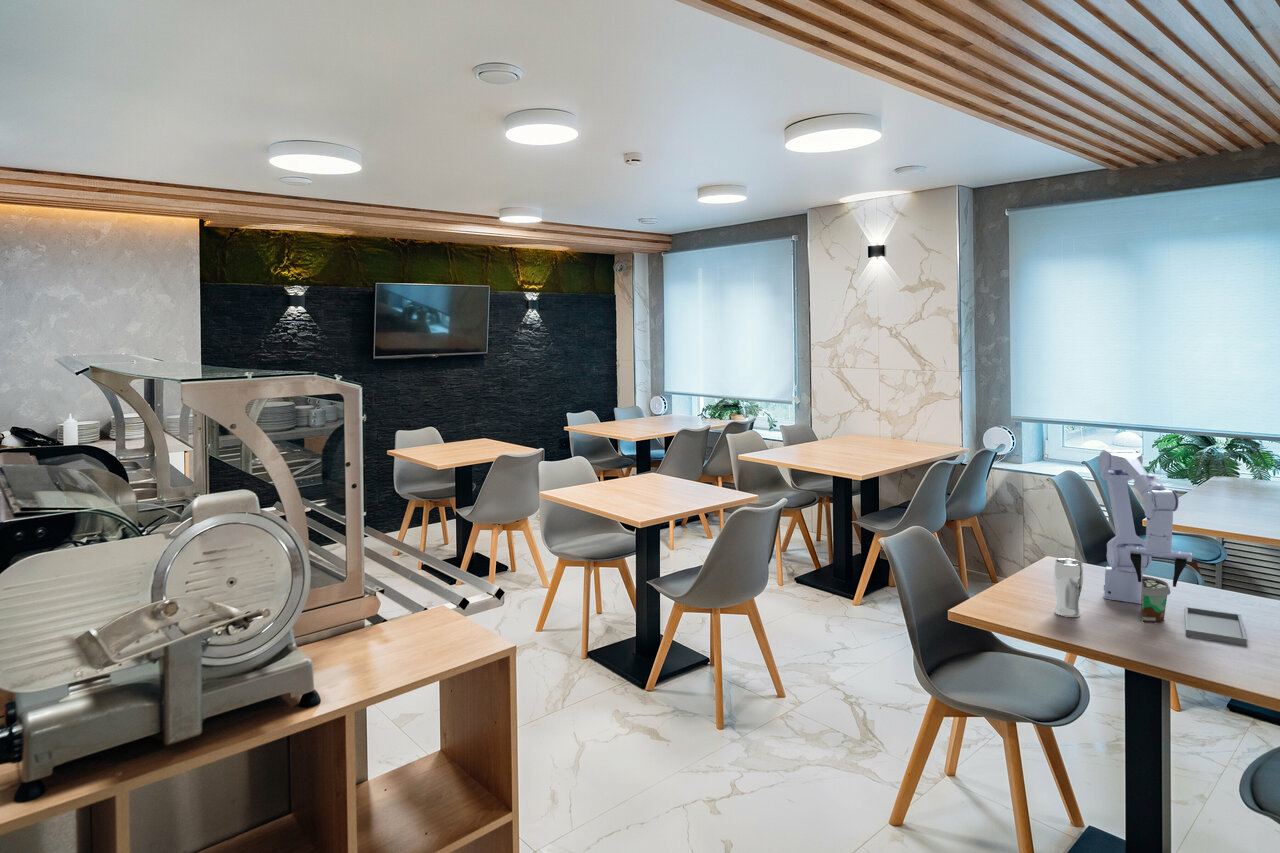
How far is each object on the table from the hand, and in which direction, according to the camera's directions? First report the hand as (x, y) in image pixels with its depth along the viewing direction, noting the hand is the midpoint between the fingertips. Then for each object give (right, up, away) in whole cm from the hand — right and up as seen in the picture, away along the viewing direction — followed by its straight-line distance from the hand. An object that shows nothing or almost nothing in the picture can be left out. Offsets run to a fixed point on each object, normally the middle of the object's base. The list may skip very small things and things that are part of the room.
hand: (1156, 583), depth 198 cm
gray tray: (+10, -10, -6) cm, 16 cm away
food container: (0, -10, +1) cm, 10 cm away
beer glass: (-21, -10, +6) cm, 24 cm away
